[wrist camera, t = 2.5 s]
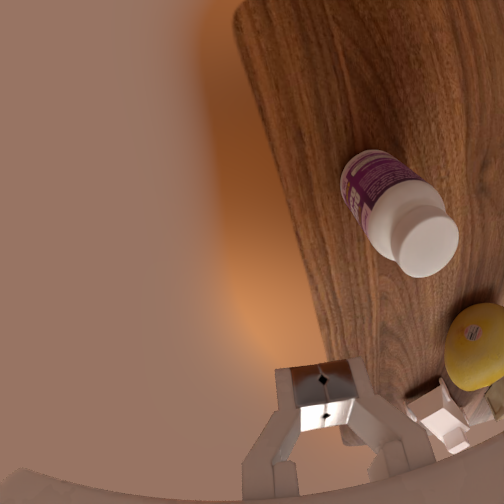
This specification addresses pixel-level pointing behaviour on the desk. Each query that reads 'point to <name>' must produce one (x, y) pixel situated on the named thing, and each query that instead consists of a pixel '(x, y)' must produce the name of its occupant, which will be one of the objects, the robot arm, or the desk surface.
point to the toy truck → (441, 417)
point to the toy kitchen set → (496, 399)
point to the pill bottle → (399, 212)
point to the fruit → (476, 347)
